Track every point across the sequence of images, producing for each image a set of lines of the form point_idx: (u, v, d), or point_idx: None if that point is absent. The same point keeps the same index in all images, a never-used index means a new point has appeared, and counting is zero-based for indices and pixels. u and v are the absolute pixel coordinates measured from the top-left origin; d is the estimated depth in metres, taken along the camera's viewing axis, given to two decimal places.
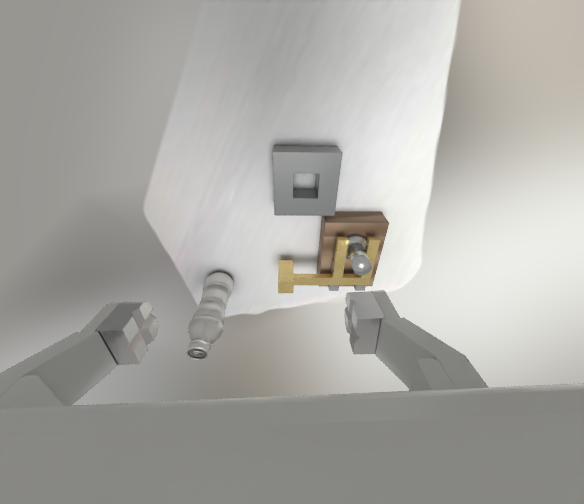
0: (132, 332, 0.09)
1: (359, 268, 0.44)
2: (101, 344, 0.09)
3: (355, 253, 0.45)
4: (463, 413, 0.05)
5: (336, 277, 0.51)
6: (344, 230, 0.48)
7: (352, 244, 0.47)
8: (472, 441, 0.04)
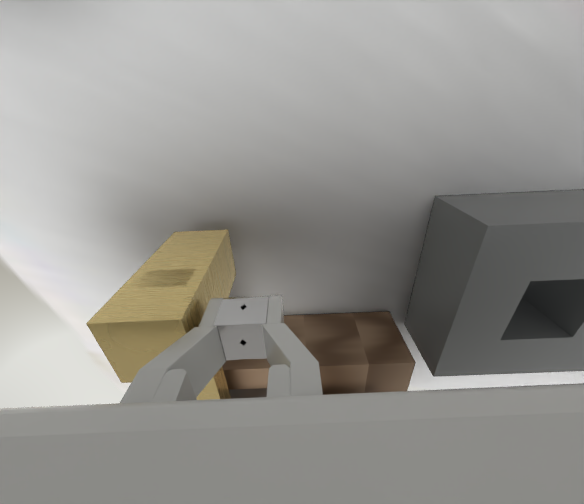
0: None
1: None
2: (217, 339, 0.09)
3: None
4: (463, 413, 0.05)
5: None
6: None
7: None
8: (472, 441, 0.04)
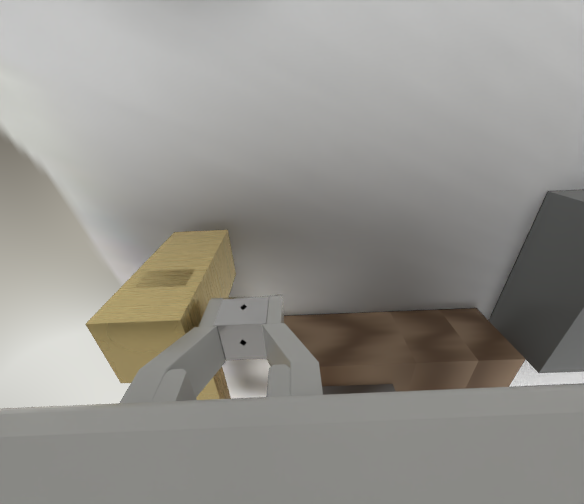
0: None
1: None
2: (217, 339, 0.09)
3: None
4: (463, 413, 0.05)
5: None
6: None
7: None
8: (472, 441, 0.04)
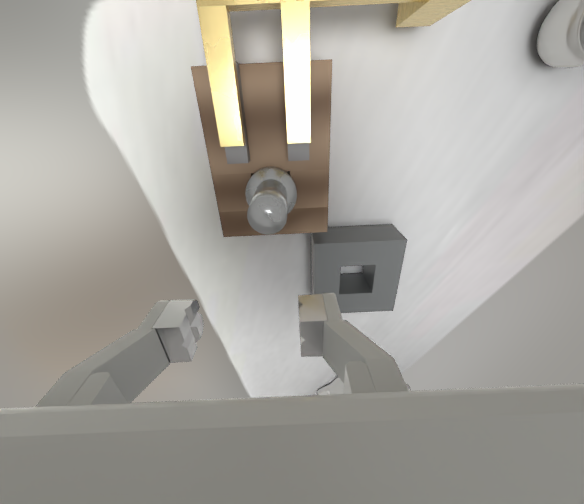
0: (186, 330, 0.09)
1: (274, 215, 0.20)
2: (157, 341, 0.09)
3: None
4: (463, 413, 0.05)
5: (298, 2, 0.17)
6: (294, 219, 0.28)
7: None
8: (472, 441, 0.04)
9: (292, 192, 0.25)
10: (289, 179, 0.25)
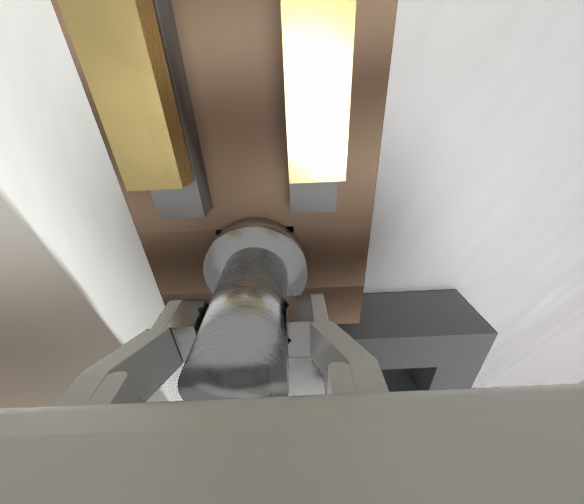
0: None
1: (252, 389, 0.07)
2: (171, 341, 0.09)
3: None
4: (463, 413, 0.05)
5: None
6: None
7: None
8: (472, 441, 0.04)
9: (298, 270, 0.12)
10: (292, 247, 0.12)
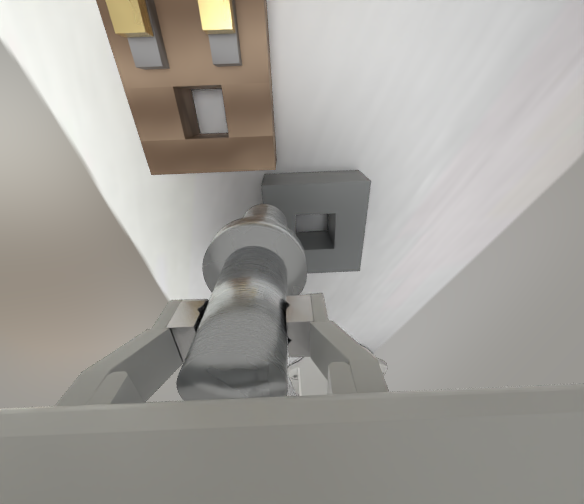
0: None
1: (251, 388, 0.07)
2: (171, 341, 0.09)
3: None
4: (463, 413, 0.05)
5: None
6: (234, 152, 0.23)
7: None
8: (472, 441, 0.04)
9: (298, 269, 0.12)
10: (292, 246, 0.12)
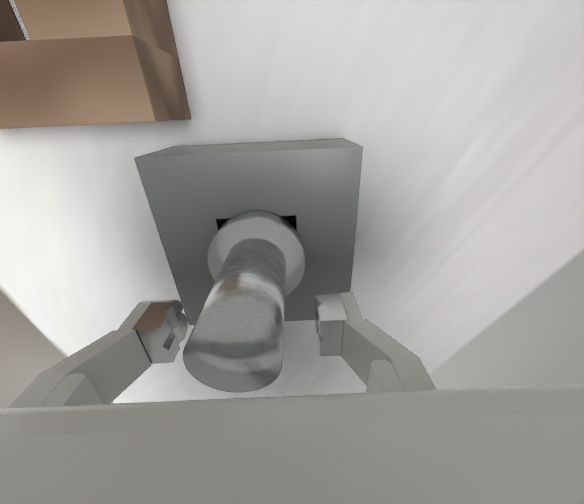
0: (167, 330, 0.09)
1: (249, 362, 0.08)
2: (137, 342, 0.09)
3: None
4: (463, 413, 0.05)
5: None
6: (54, 78, 0.10)
7: None
8: (472, 441, 0.04)
9: (296, 260, 0.13)
10: (290, 238, 0.13)
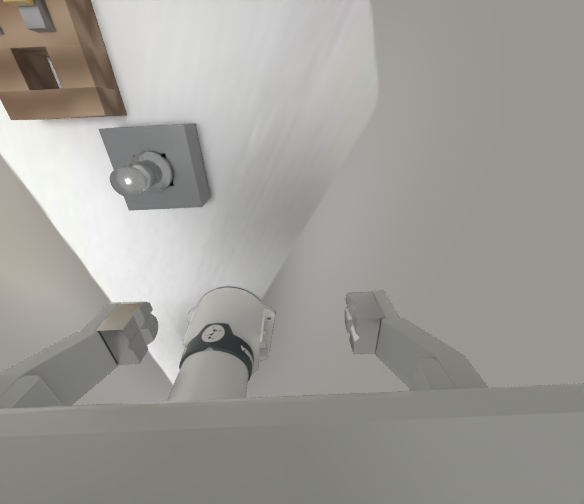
0: (132, 332, 0.09)
1: (129, 182, 0.28)
2: (101, 344, 0.09)
3: (148, 188, 0.31)
4: (463, 413, 0.05)
5: None
6: (69, 100, 0.31)
7: (157, 183, 0.34)
8: (472, 441, 0.04)
9: (165, 170, 0.34)
10: (160, 160, 0.33)
